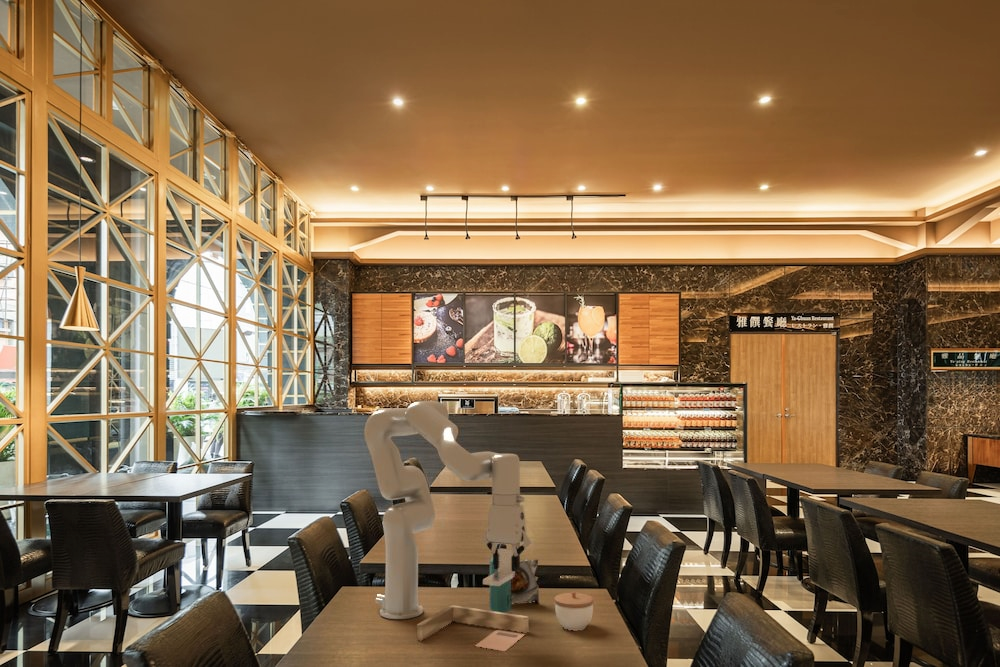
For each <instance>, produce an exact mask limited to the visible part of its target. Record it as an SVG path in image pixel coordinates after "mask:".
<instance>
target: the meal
mask: <svg viewBox="0 0 1000 667" xmlns="http://www.w3.org/2000/svg"><path fill="white" fill-rule="evenodd" d="M491 558H492V557H490V558H489V560H490V559H491ZM538 565H539V559H524V560H522V561H520V566H519V568H518V570H516V571H515V577H513V578H512V579H511V590H512V591H511V596H512V597H511V603H518V604H522V602H524V603H526V602H533V601H537V604H539V603H540V602H539V600H540V599H539V594H540V593H539V585H538V583H537V581H538V579H539V577H538V576H535V574H536V570H537V568H538Z"/></svg>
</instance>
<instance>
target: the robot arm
mask: <svg viewBox="0 0 1000 667" xmlns="http://www.w3.org/2000/svg"><path fill="white" fill-rule="evenodd" d="M449 418H450V417H449V411H448V409H447V406H445V404H443V403H442V402H440V401H436V400H421V401H415V402H413V403H411V404H410V405H409V406H407V407H404V408H383V409H378V410H377V411H374V412H373V413H372V414H371V415H370V416H369V417H368V418H367V420H366V423H365V426H364V440H365V442H366V446H367V449H368V451H369V454H370V458H371V460H372V464H373V468H374V473H375V477H376V480H377V485H378V488H379V492H380V494H381V496H382V498H383V499H385V500H388V501H395V500H402V499H404V500H405V502H401V503H396V504H393V505H391V506H390V507H388V509H386V510H385V512H384V514H383V515H382V516H383V517H382V527H383V534H384V542H385V586H384V588H385V591H384V594H385V595H384V594H380V593H379V594H377V595H376V597H375V600H374V602H375V603H376V604H381V607H380V609H379V615H380V616H382V618H386V619H389V620H406V619H413V618H416V617H419V616H420V615H423V612H424V608H423V606H422V605H421V604H419V602H418V601H419V600H418V598H419V597H418V596H419V594H418V593H419V592H418V590H419V586H418V585H419V548H418V544H417V542H416V539H415V537H414V534H417V533H421V532H423V531H427V530H429V529H430V528H431V527H432V526H433V524H434V523H435V518H436V513H435V506H434V502H433V499H432V495H431V492H430V488H429V484H428V481H427V480H428V479H427V478H426V476H425V474H424V472H423V471H422V470H421V469H420V468H419V467H417V466H415V465H404V463H403V461H402V457H401V452H400V450H399V448H398V446H397V445H396V444H395V443H394V442H393V440H392V437H401V436H402V437H405V436H411V435H417V434H419V435H420V436H422V438H424V439H425V440H426V441H428V442H429V444H431V445H433V447H435V448H436V449H437V453H438V456H439V458H440V460H441V463H442V464H443V465H444V467H446V468H447V469H448V470H449V471H450V472H452V473H453V474H455V476H457V477H458V478H460V479H461V480H464V481H465V482H469V483H470V482H477V481H483V480H488V479H489V480H490V479H491V504H489V509H488V514H487V524H486V526H487V527H486V531H485V533H484V535H483V537H481V541H482V543H484V544H485V545H486V547H488V549H489V550H490V553H491V554H492V557H493V565H494V569H498V549H499V548H500V545H501V544H505V545H510V546H511V549H512V550H513V556H512V557H511V570H512V571H516V570H518V568H519V566H520V562H521V561H520V558H521V557H520V556H521V554H522V553H523V552H524V551H525V550H526V549H527V548H528V547H530V546H531V545H532V541H531V540H530V537H529V536H528V534H527V522H526V521H527V520H526V515H525V510H524V506H523V504H521V503H524V502H525V497H524V496H521V489H520V488H521V487H520V486H521V485H520V483H521V481H520V476H521V475H520V472H521V470H520V466H521V465H520V464H521V463H520V458H519V456H518V454H516V453H498V452H494V451H489V450H487V451H478V452H469V451H467V450H466V449H465V448H464V447H462V446H461V445H460V444H459V443H458V442H457V441H456V440H457V437H458V434H459V428H458V426H457V425H456V424H455V423H453V421H451V420H449ZM520 543H523V544H520Z"/></svg>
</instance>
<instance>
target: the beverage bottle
mask: <svg viewBox="0 0 1000 667" xmlns="http://www.w3.org/2000/svg"><path fill="white" fill-rule="evenodd" d="M500 548H502V549H508V548H507V544H503V543H501V545H500ZM490 558H491V559H490ZM490 558H489V576H490V575H492V574H494V573H495V572H497V571H498V569H494V565H493V556H492V557H490ZM488 586H489V590H488V591H489V598H488V599H489V602H488V603H489V608H490V611H496V612H502V613H509V612H510V611H511V610H512V605H513V604H512V603H511V597H512V596H511V591H512V590H511V579H510V580H508V581H507V582H505V583H503V584H502V585H500V586H493V585H488Z"/></svg>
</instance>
